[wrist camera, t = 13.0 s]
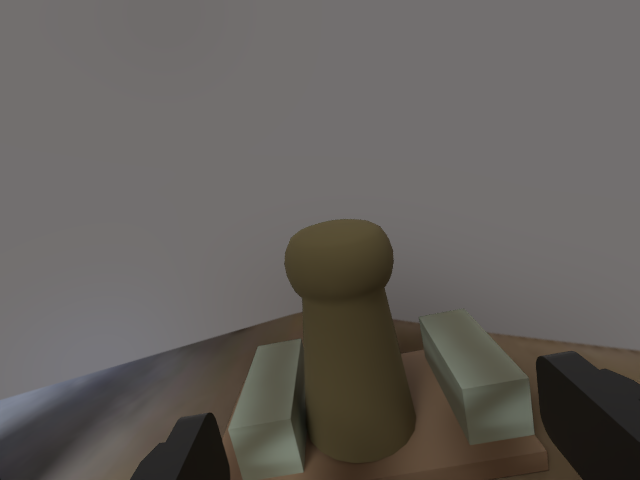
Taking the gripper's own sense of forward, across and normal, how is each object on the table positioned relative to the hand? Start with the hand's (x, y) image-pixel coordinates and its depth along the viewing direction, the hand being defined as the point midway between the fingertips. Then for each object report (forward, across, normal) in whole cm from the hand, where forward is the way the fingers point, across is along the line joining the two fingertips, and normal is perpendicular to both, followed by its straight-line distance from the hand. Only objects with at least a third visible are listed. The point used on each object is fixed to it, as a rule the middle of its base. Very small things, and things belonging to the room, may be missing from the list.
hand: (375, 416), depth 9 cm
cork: (+10, +1, +8) cm, 13 cm away
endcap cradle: (+11, 0, +9) cm, 14 cm away
